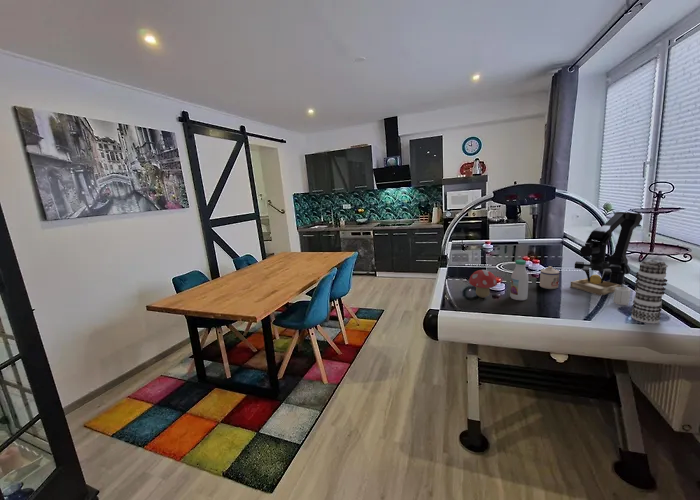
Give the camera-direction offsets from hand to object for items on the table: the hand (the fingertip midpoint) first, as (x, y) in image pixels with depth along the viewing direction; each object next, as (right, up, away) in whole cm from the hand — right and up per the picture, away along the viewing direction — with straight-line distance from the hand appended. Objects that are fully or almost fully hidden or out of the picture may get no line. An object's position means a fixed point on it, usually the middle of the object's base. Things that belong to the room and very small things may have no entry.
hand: (595, 282), depth 158 cm
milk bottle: (-44, -8, -5) cm, 45 cm away
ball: (0, +2, 0) cm, 2 cm away
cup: (-3, -8, -19) cm, 20 cm away
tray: (0, -3, +1) cm, 4 cm away
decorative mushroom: (-61, -8, -2) cm, 62 cm away
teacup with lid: (-18, -3, +9) cm, 21 cm away
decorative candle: (-8, -12, -35) cm, 38 cm away
